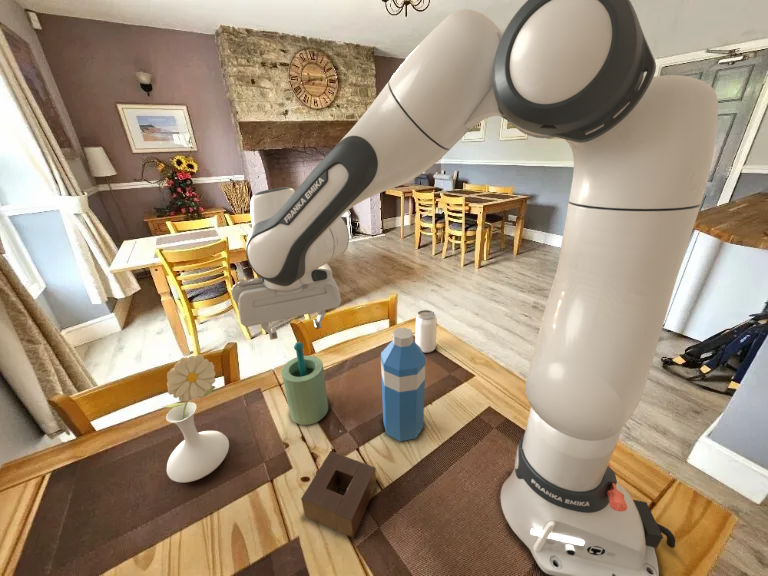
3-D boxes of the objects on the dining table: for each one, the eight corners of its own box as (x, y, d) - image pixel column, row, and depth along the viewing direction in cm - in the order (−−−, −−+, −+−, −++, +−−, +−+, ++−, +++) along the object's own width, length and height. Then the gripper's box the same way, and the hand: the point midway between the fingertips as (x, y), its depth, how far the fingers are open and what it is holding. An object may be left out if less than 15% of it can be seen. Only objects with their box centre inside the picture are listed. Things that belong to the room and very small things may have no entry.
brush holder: (376, 484, 59) (375, 467, 57) (353, 538, 51) (351, 520, 49) (332, 467, 63) (330, 450, 60) (304, 516, 55) (301, 498, 52)
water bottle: (421, 444, 67) (424, 349, 56) (379, 438, 69) (374, 344, 58) (424, 411, 75) (428, 322, 65) (387, 406, 77) (384, 319, 67)
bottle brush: (316, 404, 77) (306, 340, 69) (310, 412, 75) (299, 347, 67) (307, 401, 78) (296, 338, 70) (300, 409, 76) (288, 345, 68)
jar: (335, 401, 79) (330, 360, 73) (314, 429, 71) (307, 385, 66) (304, 392, 82) (297, 352, 77) (282, 418, 74) (272, 375, 69)
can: (424, 339, 103) (425, 307, 98) (439, 347, 99) (441, 314, 94) (410, 346, 99) (411, 314, 94) (425, 356, 95) (427, 322, 90)
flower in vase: (169, 500, 58) (118, 398, 47) (168, 454, 66) (125, 359, 56) (243, 463, 64) (213, 366, 54) (233, 425, 73) (205, 336, 62)
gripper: (228, 289, 55) (245, 353, 61) (339, 269, 62) (345, 328, 68) (229, 277, 60) (244, 336, 66) (331, 260, 67) (337, 315, 73)
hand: (296, 332), depth 67 cm, fingers open, 8 cm apart
